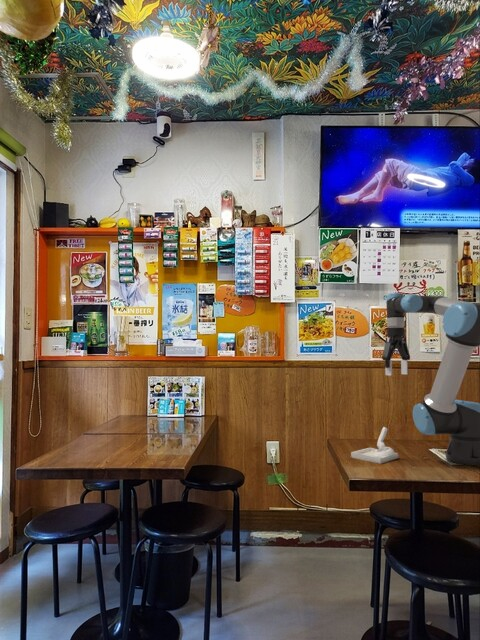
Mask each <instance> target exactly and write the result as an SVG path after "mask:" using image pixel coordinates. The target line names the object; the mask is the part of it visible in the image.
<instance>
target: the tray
mask: <svg viewBox="0 0 480 640" xmlns="http://www.w3.org/2000/svg"><path fill="white" fill-rule="evenodd" d="M377 449H378V448H373V447H367V448H363V449H359V450H354V451H351V452H350V457H351V458H352V459H356V460H362V461H365V462H369V463H374V464H380V465H382V464H383V463H384V464H385V463H388V462H391V461H394V460H397V459H399V453H398V452H395V451H394V453H392V454H390V455H387V456H381V457H377V456H375V450H377Z"/></svg>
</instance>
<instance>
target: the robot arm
mask: <svg viewBox="0 0 480 640" xmlns="http://www.w3.org/2000/svg"><path fill="white" fill-rule="evenodd" d="M385 303H386V326H387V329H386V335H387V337H385V343H384V346H383V347H384V348H383V352H382V355H381V359H382V361H384V362H385V363H384V367H385V369H384V371H385V376H389V377H391V376H393V360H392V357H393V355H394V352H395V350H396V349H397V351H398V353H399V355H400V358H401V360H400V365H401V366H400V371H401V373H400V374H401V375H408V374H409V371H408V367H409V366H408V365H409V364H408V361H410V360H411V355H410V352H409V347H408V343H407V339H406V338H403V337H405V335H406V328H404V327H405V326H406V325H405V324H406V323H405V314H406V313H407V314H410V313H411V314H422V313H423V314H435V315H440V316H442V324H443V325H442V329H443V331H444V333H445V337H446V339H447V340H448V341H447V343H446V347H445V349H444V353H443V356H442V359H441V361H440V364H439V366H438V370H437V372H436V376H435V378H434V382H433V384H432V387H431V390H430V393H428V394H427V393H426V394H425V396H424V398H423V401H422V403H419V402H418V403H417V404H415V405H414V406H413V407H412V408H413V409H412V418H413V419H412V420H413V423H414V425H415V427H416V429H417V430H418V432H419V433H421V434H422V435H427V436H429V435H430V436H435V435H450V439H449V442H448V446H447V448H446V451H445V459H446V460H447V461H448V462H451V463H455V464H459V465H460V464H461V465H467V466H480V402H475V401H468V400H460V399H457V395H458V393H459V390H460V387H461V385H462V382H463V380H464V377H465V375H466V372H467V368H468V366H469V365H470V364H469V363H470V360H471V358H472V355H473V353H474V350H475V348H479V347H480V302H469V301H463V300H458V299H453V298H448V297H447V296H444V295H419V294H416V293H413V294H411V293H410V294H406V295H404V293H402V292H392V293H391V292H390V293H388V294H387V295H386V301H385Z"/></svg>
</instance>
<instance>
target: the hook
mask: <svg viewBox="0 0 480 640" xmlns="http://www.w3.org/2000/svg"><path fill="white" fill-rule="evenodd" d="M387 432H388V428H387V427H385V426H383V427H382V429H381V431H380V435H379V437H378V440H377V443H376V446H377V448H376V449H377V450H375V456H377V457H381V456H387V455H390V454H392V453H394V452H395V450H394V448H392V447H391V446H386V445H385V442H384V440H385V438H386V436H387Z"/></svg>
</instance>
